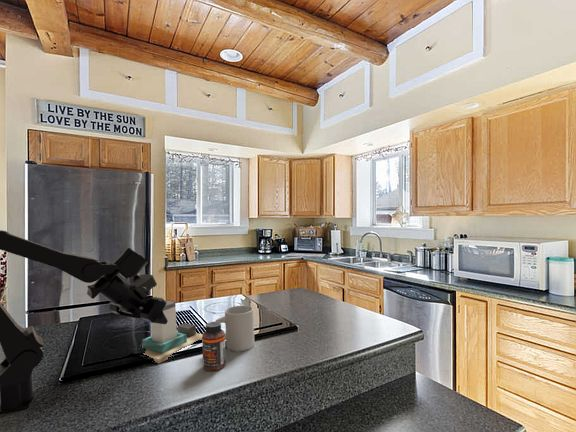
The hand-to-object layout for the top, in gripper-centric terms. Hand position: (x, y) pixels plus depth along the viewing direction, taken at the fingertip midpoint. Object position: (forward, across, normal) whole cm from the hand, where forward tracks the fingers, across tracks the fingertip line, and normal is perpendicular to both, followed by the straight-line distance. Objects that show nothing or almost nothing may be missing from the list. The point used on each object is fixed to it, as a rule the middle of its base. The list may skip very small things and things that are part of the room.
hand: (156, 320), depth 94 cm
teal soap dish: (+10, 0, +3) cm, 10 cm away
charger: (+8, 0, +4) cm, 9 cm away
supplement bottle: (+8, -22, +6) cm, 24 cm away
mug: (+16, -18, -3) cm, 25 cm away
